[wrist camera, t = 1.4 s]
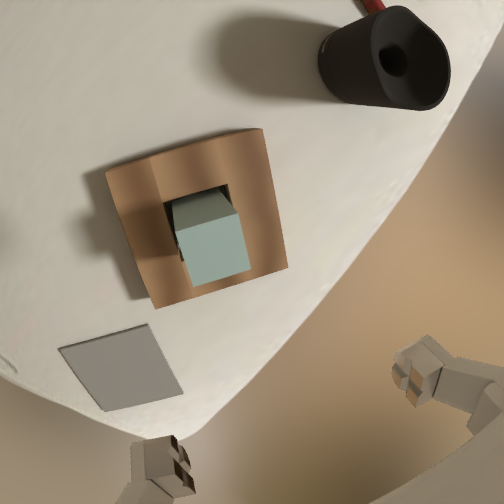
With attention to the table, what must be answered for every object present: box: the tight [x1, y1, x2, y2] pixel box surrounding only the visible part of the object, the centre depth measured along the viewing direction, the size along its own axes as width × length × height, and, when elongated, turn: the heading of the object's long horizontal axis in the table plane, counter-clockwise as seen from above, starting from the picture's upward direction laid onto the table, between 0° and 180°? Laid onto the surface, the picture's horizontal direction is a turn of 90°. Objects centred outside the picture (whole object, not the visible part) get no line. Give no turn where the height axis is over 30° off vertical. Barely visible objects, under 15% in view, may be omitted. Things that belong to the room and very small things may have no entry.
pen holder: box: [318, 6, 451, 111], centre depth 24 cm, size 9×9×10 cm
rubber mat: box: [60, 324, 183, 412], centre depth 35 cm, size 12×12×1 cm
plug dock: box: [105, 128, 288, 309], centre depth 29 cm, size 14×14×2 cm
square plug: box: [172, 188, 251, 287], centre depth 27 cm, size 4×4×9 cm
